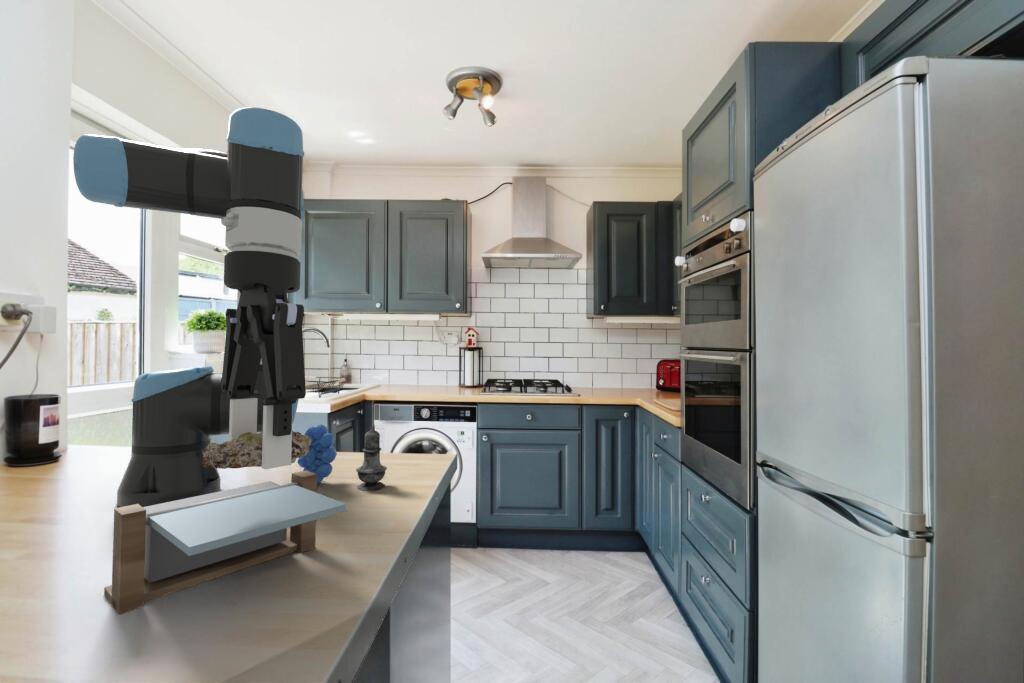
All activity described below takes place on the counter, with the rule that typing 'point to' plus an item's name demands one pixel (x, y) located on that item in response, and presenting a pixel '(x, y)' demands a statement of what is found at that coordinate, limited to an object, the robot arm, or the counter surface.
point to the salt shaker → (371, 463)
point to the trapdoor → (226, 525)
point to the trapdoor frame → (136, 589)
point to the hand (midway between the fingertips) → (258, 460)
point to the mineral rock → (248, 451)
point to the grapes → (319, 453)
